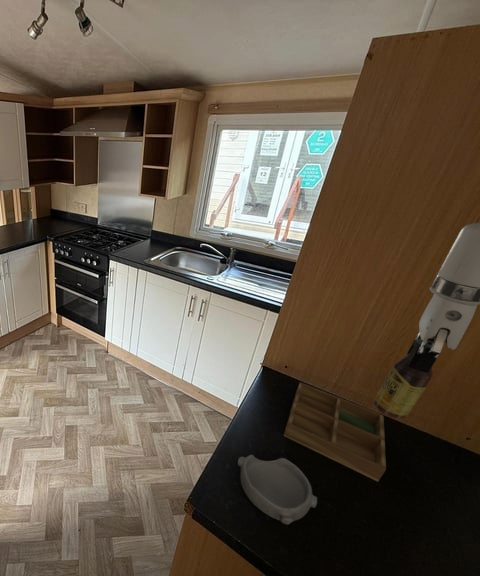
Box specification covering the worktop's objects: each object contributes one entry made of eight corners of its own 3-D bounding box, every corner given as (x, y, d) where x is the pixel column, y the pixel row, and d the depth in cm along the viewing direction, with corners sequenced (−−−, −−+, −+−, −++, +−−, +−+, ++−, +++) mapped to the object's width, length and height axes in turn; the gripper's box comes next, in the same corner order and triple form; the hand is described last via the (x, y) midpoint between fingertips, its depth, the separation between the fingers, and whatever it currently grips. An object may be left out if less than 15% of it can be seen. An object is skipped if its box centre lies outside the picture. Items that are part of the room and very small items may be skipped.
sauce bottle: (369, 397, 79) (404, 330, 70) (402, 406, 76) (441, 338, 67) (375, 415, 73) (413, 345, 65) (410, 425, 71) (454, 355, 62)
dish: (227, 469, 76) (231, 455, 74) (276, 458, 79) (281, 445, 77) (267, 536, 64) (274, 522, 61) (324, 520, 66) (333, 507, 64)
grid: (295, 393, 99) (300, 382, 97) (376, 426, 88) (383, 414, 86) (283, 435, 85) (288, 424, 83) (378, 481, 74) (386, 469, 72)
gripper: (499, 312, 52) (445, 393, 60) (480, 280, 64) (436, 352, 72) (437, 298, 56) (394, 376, 65) (429, 270, 68) (393, 339, 76)
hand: (417, 362), depth 68 cm, fingers closed on sauce bottle, 4 cm apart
